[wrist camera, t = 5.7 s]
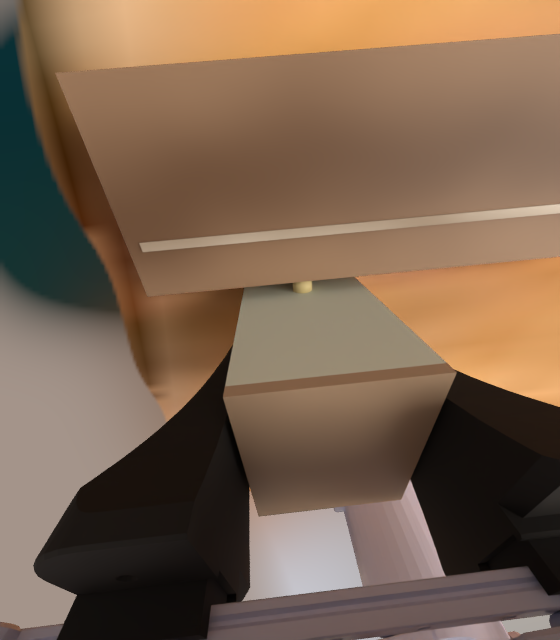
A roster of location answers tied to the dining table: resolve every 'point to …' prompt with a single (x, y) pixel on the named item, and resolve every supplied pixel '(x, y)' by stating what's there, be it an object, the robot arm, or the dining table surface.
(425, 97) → the tan rectangular bar
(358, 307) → the block
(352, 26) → the dining table surface
